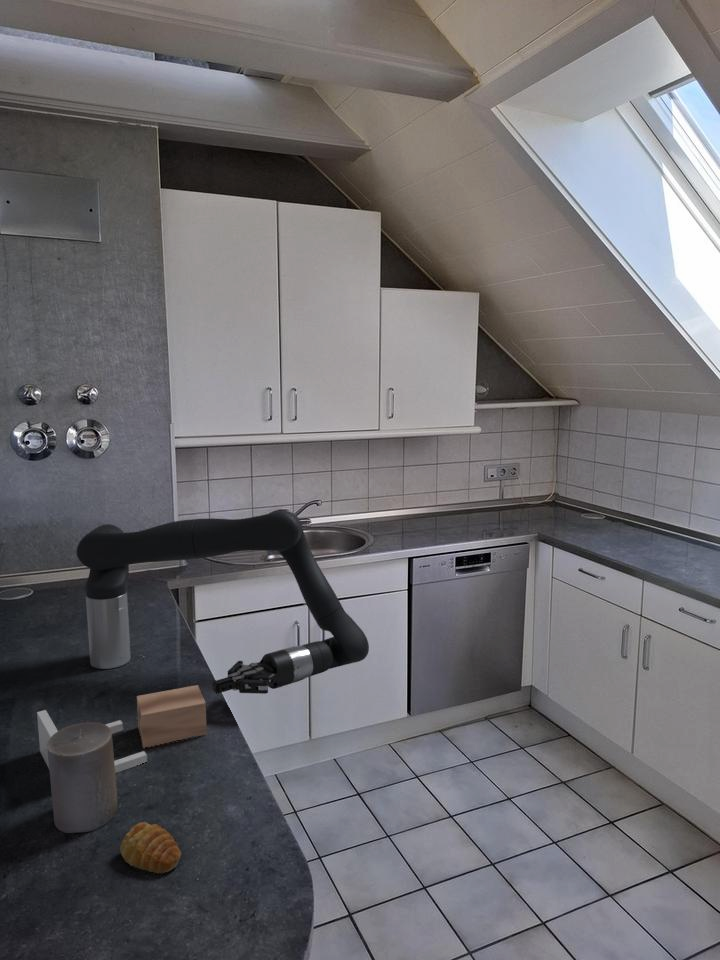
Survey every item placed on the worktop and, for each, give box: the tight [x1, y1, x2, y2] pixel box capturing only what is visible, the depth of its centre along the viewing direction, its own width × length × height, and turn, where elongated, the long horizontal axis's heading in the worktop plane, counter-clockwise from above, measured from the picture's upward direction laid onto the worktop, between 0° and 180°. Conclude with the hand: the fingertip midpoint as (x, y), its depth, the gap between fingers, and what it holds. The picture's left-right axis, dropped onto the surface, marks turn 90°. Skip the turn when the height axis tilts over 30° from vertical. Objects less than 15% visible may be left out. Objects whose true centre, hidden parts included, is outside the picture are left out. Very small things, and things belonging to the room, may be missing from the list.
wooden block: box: [136, 684, 208, 749], centre depth 137 cm, size 8×12×7 cm, turn 114°
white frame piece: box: [36, 709, 148, 774], centre depth 128 cm, size 15×15×8 cm
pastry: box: [119, 821, 182, 874], centre depth 104 cm, size 9×7×4 cm
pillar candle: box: [47, 721, 119, 834], centre depth 112 cm, size 10×10×15 cm
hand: (213, 688), depth 142 cm, fingers closed
